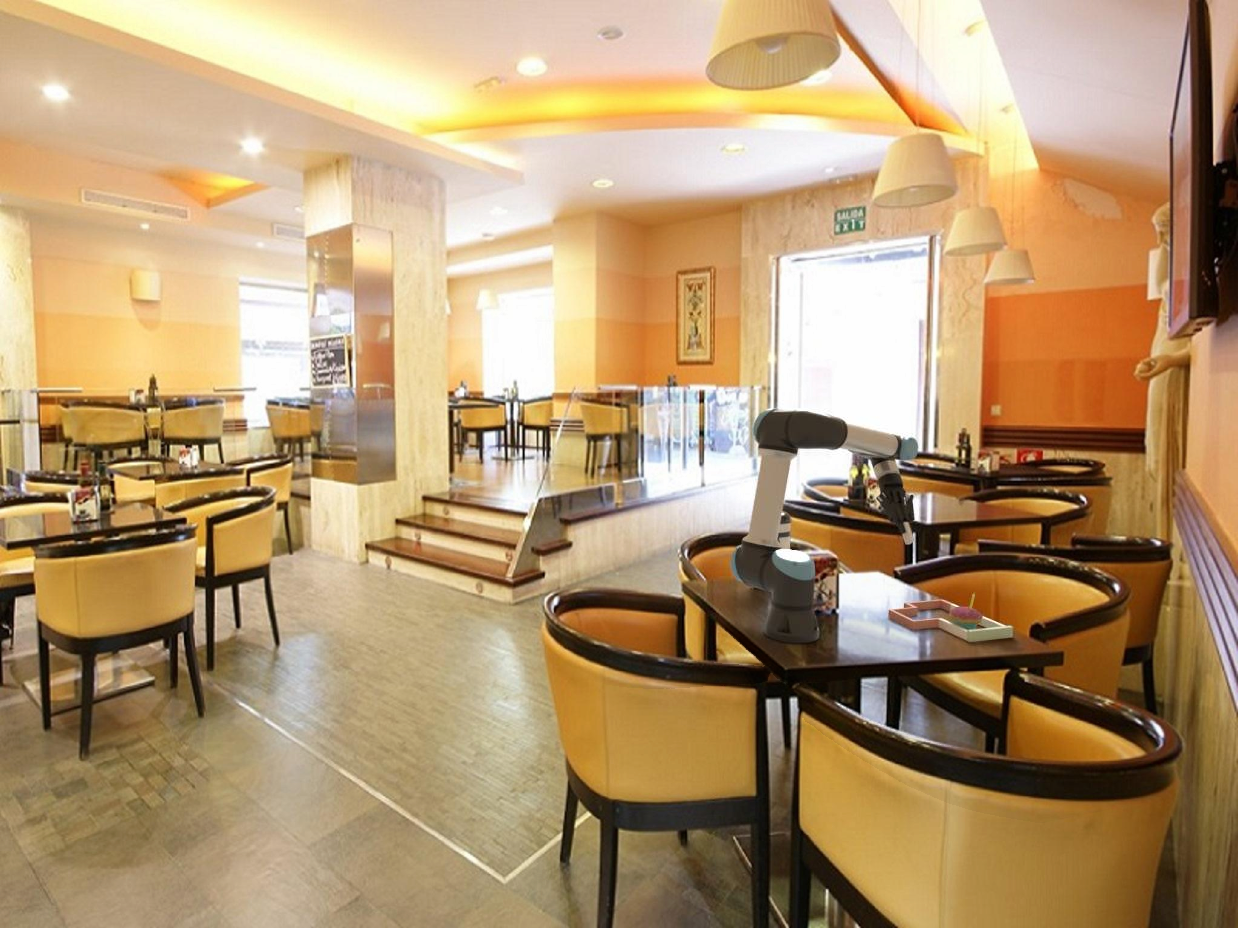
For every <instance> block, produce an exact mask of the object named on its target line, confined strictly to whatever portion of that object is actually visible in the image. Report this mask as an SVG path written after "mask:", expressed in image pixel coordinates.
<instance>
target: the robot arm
mask: <svg viewBox="0 0 1238 928" xmlns="http://www.w3.org/2000/svg"><path fill="white" fill-rule="evenodd" d="M752 434H753V437H754V440H755V442H756V443H757V444H758V447H757V450H758V452H759V453H760V455H761V460H760V465H759V471H758V477H757V482H756V483H757V484H756V488H755V494H754V498H753V499H754V500H753V506H752V513H751V516H750V517H751V519H750V524H749V529H748V534H747V535H746V536H744V537H743V538H742V540H741V544H739V545H737V546H736V547H735V549H734V550H733V551H732V553H731V557H730V561H729V562H730V564H729V565H730V571H731V573H732V575H733V576H734V579H736V580H737V581H738V582H740V583H742V584H744V585H746V586H747V587H750V586H751V587H755V588H756V589H759V590H762V591H765V592H767V593H771V604H770V609H769V611H768V615H767V617H766V620H765V622H764V625H763V626H764V634H765V635H766V637H768V638H770V639H772V640H773V641H777V642H780V643H781V642H782V643H788V644H807V643H808V644H809V643H812V642H815V641H817V640H818V639H819V638H820V627H819V625H818V623H819V622H818V621H817V617H816V613H815V611H814V603H815V601H814V600H815V599H814V598H815V584H816V583H815V582H816V581H815V580H816V569H815V561H814V559H813V557H812V556H811V555H809V554H807V553H805V552H803V551H800V550H792V549H791V548H790V549H781V545H780V543H779V542H778V540H777V538H778V532H779V527H780V521H781V515H782V511H783V510H784V509H783V508H784V502H785V496H786V491H787V485H788V481H789V480H788V479H789V473H790V469H791V462H792V460H794V459H795V458H796V457H798V452H799V450H810V449H811V450H813V449H814V450H820V449H821V450H831V451H835V450H839V449H843V450H847V451H849V452H850V453H852V454H853V455H855V456H859V457H862V458H864V459H867V460H869V461H870V464H871V466H872V469H873V472H874V476H875V479H876V482H877V486H878V488H879V490H880V494H878V495H877V496H876V497H875V499H876V501H878V503H880V505H881V507H882V509H883V510H884V511H883V512H884V513H885V514H886V516H887V518H888V520H889V521H890V523H891V524H894V526H895V527H897V529H898V531H899V533H900V534H901V535H902V537H903V540H904V543H905V545H911V544H912V543H914V542H915V538H914V535H913V531H914V530H913V528H912V525H911V524H912V523H913V522H914V521H915V520H916V519H915V509H914V497H915V496H914V494H909V493H907V491H906V490H905V488H904V481H903V478H902V475H901V474H900V470H899V467H898V464H897V461H902V462H903V461H912V460H914V459H915V458H916V457H917V455H918V451H919V443H918V440H917V439H916V438H914V437H913V436H907V435H904V436H903V435H897V434H894V433H889V432H884V431H879V430H876V429H871V428H869V427H868V428H867V427H864V426H860V425H856V424H852V423H847V422H846V421H845V420H844V419H842V418H841V417H839V416H834V415H831V414H827V413H824V412H822V411H818V410H813V409H811V408H810V409H808V408H796V407H795V408H792V407H780V406H779V407H775V408H773V407H771V408H767V409H764V410H763V411H762V412H760V414H758V416H757V417H756V419H755V421H754V423H753V429H752ZM896 460H897V461H896ZM755 588H754V589H755Z"/></svg>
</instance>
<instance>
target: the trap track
mask: <svg viewBox="0 0 1238 928" xmlns="http://www.w3.org/2000/svg"><path fill="white" fill-rule="evenodd" d="M956 607H961V606H959V605H957V604H954V603H952V602H950V601H948V600H945V599H935V600H934V599H933V600H923V601H911V602H903V608H891V609H890V608H889V609H888V615H887V617H888V618H889V619H890V620H893V621H894V622H897V623H898V624H901V625H903V626H904V627H907V628H909V629H911V630H912V631H915V630H922V629H923V630H924V629H932V628H939V629H941V630H944V631H946V632H947V633H949V634H952V635H954V636H956V637H958V638H960V639H963V640H965V641H967V642H969V643H974V642H975V643H976V642H982V641H983V642H984V641H991V640H1000V639H1001V640H1002V639H1008V638H1009V639H1010V638H1013V637H1014V636H1013V633H1014V626H1012V625H1005V624H1003V623H1000V622H998V621H995V620H993V619H991V618H988V617H986V616H984V615H982V616H983V618H982V621H981V623H978V625H979V626H982V627H984V628H976V629H973V630H966V629H964V628H962V627H960V626H958V625H955V624H954V622H951V621H948V620H946V619H944V618H942V617H937V618H927V619H916V620H914V618H913V619H912V618H911V617H914V616H915V615H916V616H918V614H919V613H918V611H920V610H931V609H932V610H933V609H942V610H944V611H946V612H949V613H950V610H952V609H954V608H956Z"/></svg>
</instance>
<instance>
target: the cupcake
mask: <svg viewBox="0 0 1238 928" xmlns="http://www.w3.org/2000/svg"><path fill="white" fill-rule="evenodd" d="M975 594H976V592H975V591H974V593H972V596H971V600H970V602H969V603H970V604H969V606H960V607H956V608H954V609H952V610H950V612H949V614H948V615H949V616H948V617H949V618H950V619H951V620H952V621H953V622H952V623H953V624H955V625H958V626H960V627H962V628H964V629H966V630H973V629H977V627H978V625H979V624H978V623H981V621H982V618H983V616H984V615H982V614H981V612H980V611H979V610H977V609H975V608H973V605H974V604H973V603H974V600H975V597H976V595H975Z"/></svg>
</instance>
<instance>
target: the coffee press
mask: <svg viewBox="0 0 1238 928" xmlns="http://www.w3.org/2000/svg"><path fill="white" fill-rule="evenodd" d="M792 522H793V518H791V516H790V513H788V512H786V511H783V510H782V515H781V521H780V527H779V532H778V538H777V540H778V542H779V543H780V545H781V549H790V550H791V535H792V529H791V526H792V525H791V524H792ZM749 588H750V589H752V590H754V589H755V587H752V586H749Z"/></svg>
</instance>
